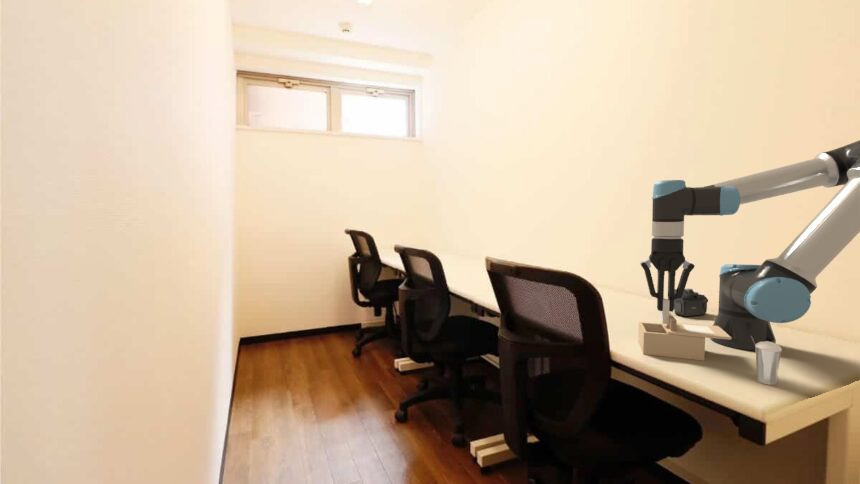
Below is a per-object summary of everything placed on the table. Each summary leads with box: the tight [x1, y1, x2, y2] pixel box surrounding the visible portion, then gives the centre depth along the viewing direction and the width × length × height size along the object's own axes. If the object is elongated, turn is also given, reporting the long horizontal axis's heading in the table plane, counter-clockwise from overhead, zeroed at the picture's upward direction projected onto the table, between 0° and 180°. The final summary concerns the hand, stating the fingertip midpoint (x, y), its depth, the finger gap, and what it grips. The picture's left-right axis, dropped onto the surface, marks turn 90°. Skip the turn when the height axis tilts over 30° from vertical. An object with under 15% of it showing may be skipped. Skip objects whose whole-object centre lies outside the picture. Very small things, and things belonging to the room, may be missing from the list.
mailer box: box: [637, 321, 706, 361], centre depth 111 cm, size 14×11×6 cm
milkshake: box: [751, 336, 783, 386], centre depth 90 cm, size 4×5×10 cm
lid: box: [660, 311, 732, 340], centre depth 109 cm, size 14×11×4 cm
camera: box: [673, 288, 709, 317], centre depth 150 cm, size 13×10×10 cm
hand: (664, 322), depth 111 cm, fingers closed
